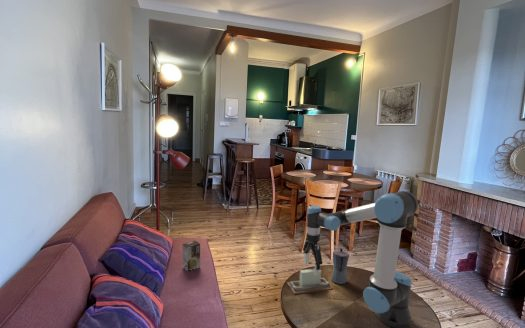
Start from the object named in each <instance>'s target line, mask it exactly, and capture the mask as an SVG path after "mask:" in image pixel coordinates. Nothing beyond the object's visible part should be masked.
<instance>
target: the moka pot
mask: <svg viewBox="0 0 525 328" xmlns="http://www.w3.org/2000/svg"><path fill="white" fill-rule="evenodd" d="M349 257H350V253H348V252H347V251H344V249H343V248H340V249H338V250H335V249H334V250H333V252H332V260H333V261H332V263H333V268H332V269H333V270H332V274H331V278H330V279H331V281H332V282H334V283H335V284H338V285H345V284H346V283H347V266H348V263H349V259H350V258H349Z"/></svg>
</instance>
